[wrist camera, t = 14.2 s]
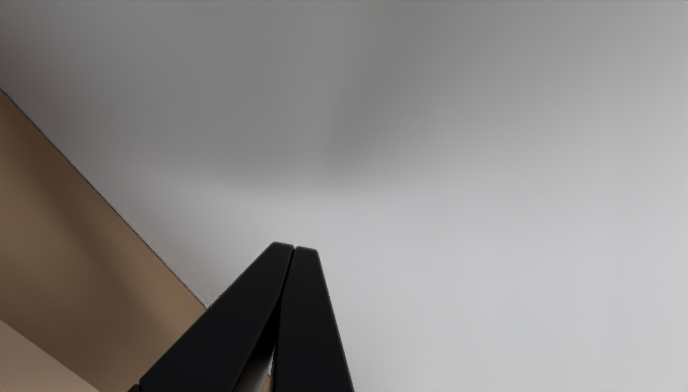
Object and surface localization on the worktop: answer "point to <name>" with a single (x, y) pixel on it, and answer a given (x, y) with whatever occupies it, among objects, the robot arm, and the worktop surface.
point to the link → (75, 278)
